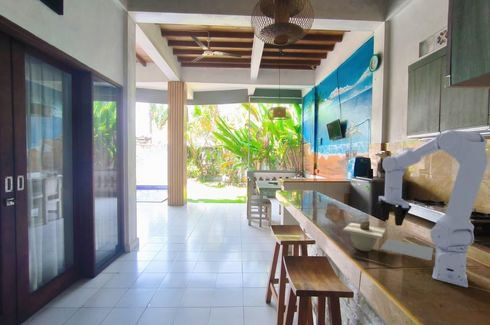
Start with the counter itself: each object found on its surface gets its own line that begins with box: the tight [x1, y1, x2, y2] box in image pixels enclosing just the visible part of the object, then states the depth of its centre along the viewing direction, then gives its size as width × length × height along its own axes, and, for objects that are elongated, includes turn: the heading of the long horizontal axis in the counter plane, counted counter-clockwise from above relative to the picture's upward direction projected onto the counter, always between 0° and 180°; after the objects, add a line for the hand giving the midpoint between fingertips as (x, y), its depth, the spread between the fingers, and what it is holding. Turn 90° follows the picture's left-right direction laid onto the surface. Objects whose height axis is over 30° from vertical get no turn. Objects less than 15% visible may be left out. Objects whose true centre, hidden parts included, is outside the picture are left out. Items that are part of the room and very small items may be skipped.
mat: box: [379, 238, 434, 261], centre depth 99 cm, size 16×16×1 cm
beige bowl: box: [349, 233, 378, 252], centre depth 98 cm, size 10×10×7 cm
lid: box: [342, 219, 387, 240], centre depth 98 cm, size 13×13×4 cm
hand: (391, 222), depth 99 cm, fingers open, 7 cm apart
